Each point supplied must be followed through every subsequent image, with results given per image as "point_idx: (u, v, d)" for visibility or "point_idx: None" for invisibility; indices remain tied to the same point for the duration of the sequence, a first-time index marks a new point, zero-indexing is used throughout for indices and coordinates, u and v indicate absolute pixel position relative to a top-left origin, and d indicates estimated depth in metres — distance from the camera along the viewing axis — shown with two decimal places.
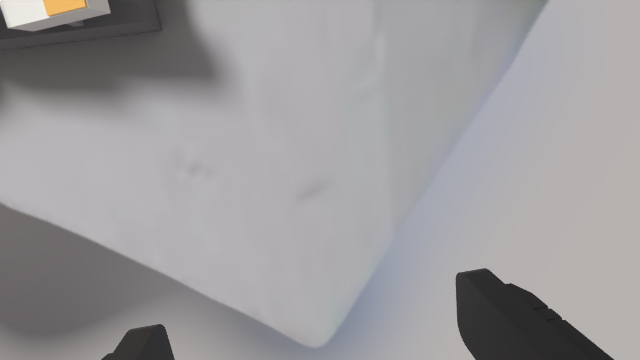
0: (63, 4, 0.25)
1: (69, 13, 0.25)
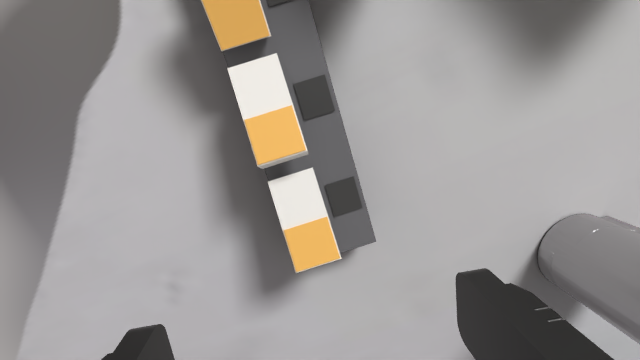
0: (295, 248, 0.28)
1: None
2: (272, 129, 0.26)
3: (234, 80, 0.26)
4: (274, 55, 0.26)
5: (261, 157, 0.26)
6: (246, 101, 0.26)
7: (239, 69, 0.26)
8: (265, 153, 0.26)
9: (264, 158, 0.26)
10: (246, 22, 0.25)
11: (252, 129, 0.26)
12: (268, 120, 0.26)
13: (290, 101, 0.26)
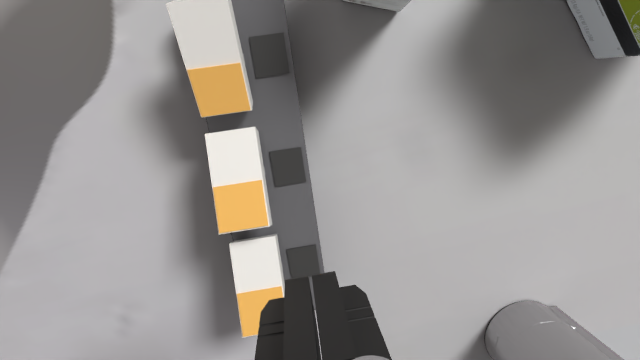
0: (245, 313, 0.29)
1: (239, 313, 0.29)
2: (238, 200, 0.27)
3: (209, 146, 0.27)
4: (252, 128, 0.27)
5: (223, 226, 0.26)
6: (218, 169, 0.27)
7: (216, 136, 0.27)
8: (228, 222, 0.27)
9: (226, 228, 0.26)
10: (229, 96, 0.26)
11: (219, 197, 0.27)
12: (236, 191, 0.27)
13: (260, 175, 0.27)
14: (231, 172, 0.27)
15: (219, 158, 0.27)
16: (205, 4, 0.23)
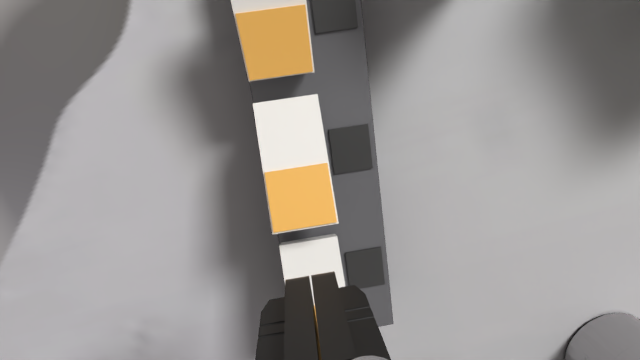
0: None
1: None
2: (297, 189, 0.20)
3: (259, 120, 0.21)
4: (314, 96, 0.21)
5: (278, 224, 0.20)
6: (270, 148, 0.21)
7: (268, 107, 0.21)
8: (284, 219, 0.20)
9: (282, 225, 0.20)
10: (287, 51, 0.20)
11: (273, 186, 0.20)
12: (295, 177, 0.20)
13: (326, 157, 0.21)
14: (287, 153, 0.21)
15: (272, 135, 0.21)
16: None
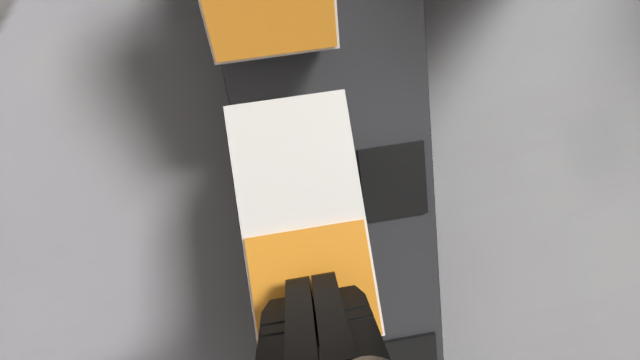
0: None
1: None
2: (307, 270, 0.11)
3: (235, 137, 0.11)
4: (338, 93, 0.11)
5: None
6: (256, 192, 0.11)
7: (251, 113, 0.11)
8: None
9: None
10: (288, 5, 0.10)
11: (260, 263, 0.11)
12: (302, 248, 0.11)
13: (360, 208, 0.11)
14: (289, 200, 0.11)
15: (259, 166, 0.11)
16: None
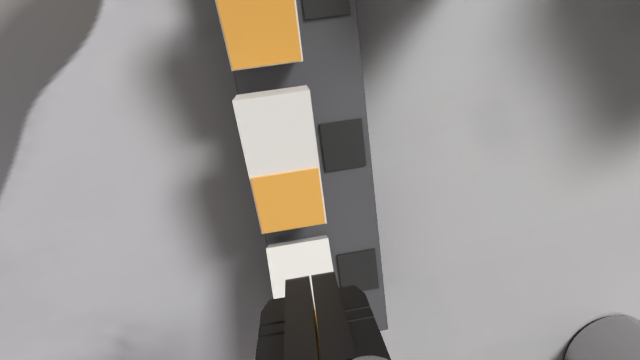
0: None
1: None
2: (286, 193, 0.20)
3: (241, 121, 0.18)
4: (305, 93, 0.18)
5: (267, 226, 0.20)
6: (256, 153, 0.19)
7: (250, 105, 0.18)
8: (273, 220, 0.20)
9: (272, 227, 0.20)
10: (273, 38, 0.18)
11: (260, 190, 0.19)
12: (283, 183, 0.19)
13: (316, 161, 0.19)
14: (275, 157, 0.19)
15: (257, 138, 0.18)
16: None
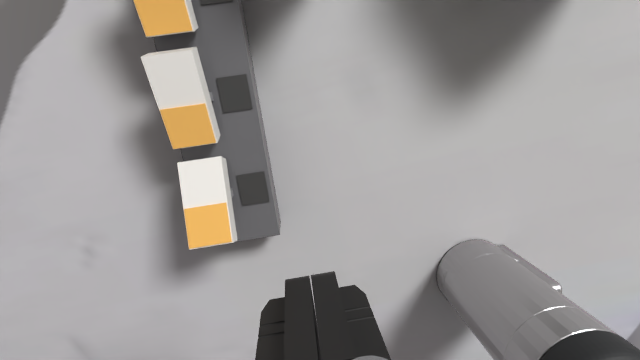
0: (191, 227, 0.31)
1: None
2: (186, 121, 0.30)
3: (148, 70, 0.27)
4: (189, 52, 0.27)
5: (175, 143, 0.30)
6: (161, 92, 0.28)
7: (153, 60, 0.27)
8: (179, 140, 0.30)
9: (179, 144, 0.30)
10: (170, 15, 0.28)
11: (167, 118, 0.29)
12: (182, 114, 0.29)
13: (203, 99, 0.29)
14: (175, 96, 0.28)
15: (160, 82, 0.28)
16: None
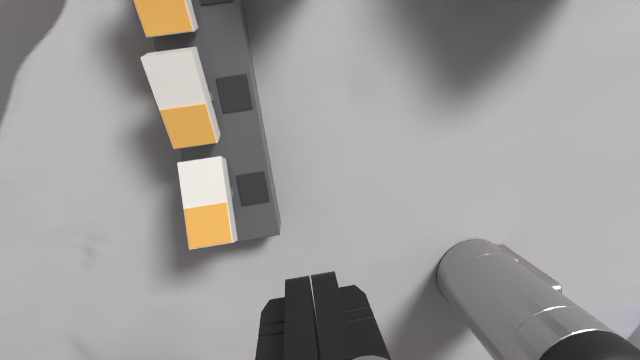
0: (191, 227, 0.31)
1: None
2: (186, 121, 0.30)
3: (148, 71, 0.27)
4: (189, 52, 0.27)
5: (176, 143, 0.30)
6: (161, 93, 0.28)
7: (153, 60, 0.27)
8: (180, 140, 0.30)
9: (179, 144, 0.30)
10: (170, 15, 0.28)
11: (168, 118, 0.29)
12: (183, 114, 0.29)
13: (204, 99, 0.29)
14: (175, 96, 0.28)
15: (160, 82, 0.28)
16: None
